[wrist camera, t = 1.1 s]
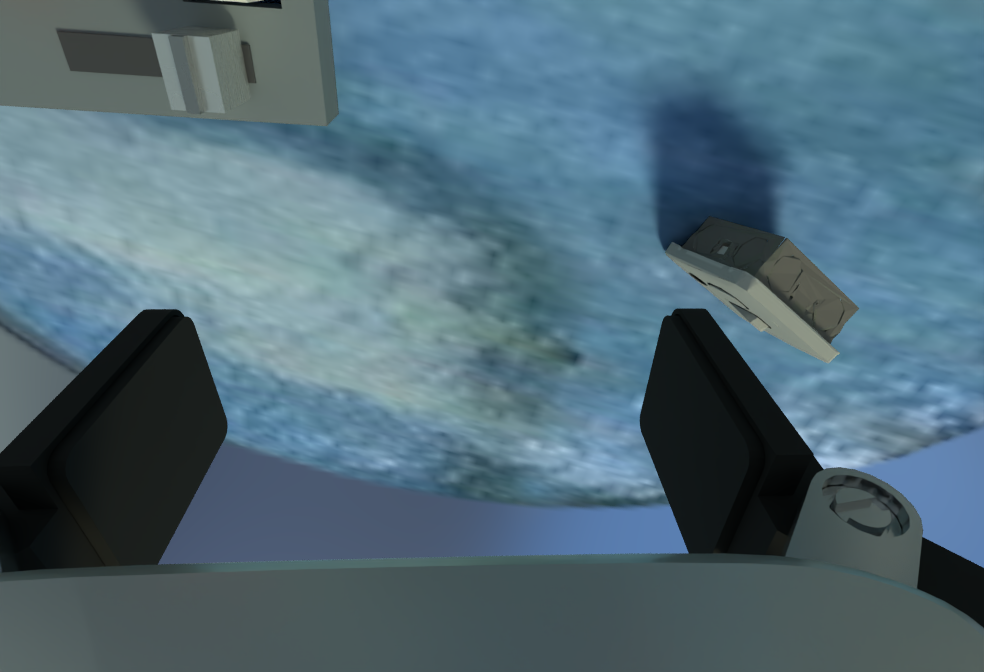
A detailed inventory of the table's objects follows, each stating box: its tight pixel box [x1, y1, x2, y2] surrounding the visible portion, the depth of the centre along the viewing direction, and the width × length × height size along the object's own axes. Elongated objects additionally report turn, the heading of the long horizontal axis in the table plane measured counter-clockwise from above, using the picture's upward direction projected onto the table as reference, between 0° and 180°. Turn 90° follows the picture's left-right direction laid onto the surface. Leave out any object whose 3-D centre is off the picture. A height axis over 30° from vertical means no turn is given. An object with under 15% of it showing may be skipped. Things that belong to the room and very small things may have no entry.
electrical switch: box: [665, 216, 859, 363], centre depth 34 cm, size 9×5×9 cm, turn 52°
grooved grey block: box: [151, 26, 251, 114], centre depth 26 cm, size 3×2×4 cm
